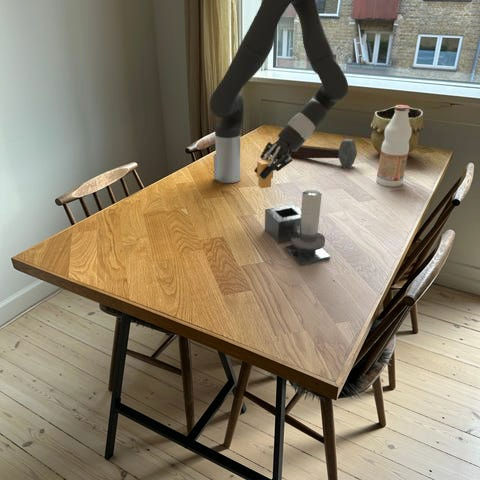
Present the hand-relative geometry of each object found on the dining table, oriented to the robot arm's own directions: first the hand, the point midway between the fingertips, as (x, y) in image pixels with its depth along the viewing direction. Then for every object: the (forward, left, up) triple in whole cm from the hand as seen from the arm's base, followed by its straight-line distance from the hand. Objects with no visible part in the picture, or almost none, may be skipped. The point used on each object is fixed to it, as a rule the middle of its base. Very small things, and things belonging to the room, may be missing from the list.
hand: (259, 175), depth 135 cm
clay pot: (+27, +77, -14) cm, 83 cm away
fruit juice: (+32, +47, -14) cm, 58 cm away
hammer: (+1, +57, -14) cm, 58 cm away
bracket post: (+18, -12, -13) cm, 25 cm away
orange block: (+1, +2, -4) cm, 5 cm away
